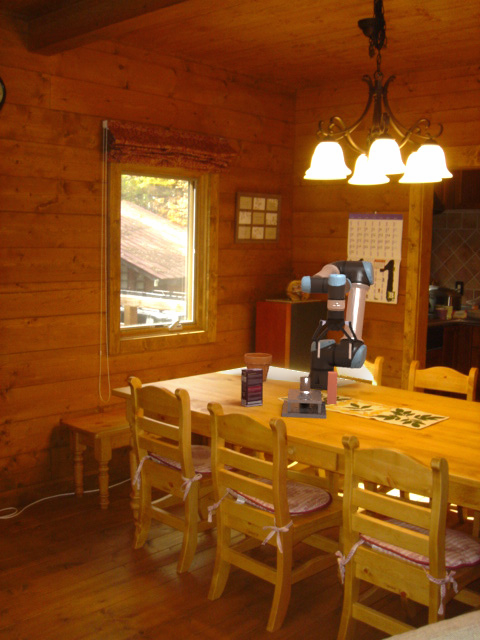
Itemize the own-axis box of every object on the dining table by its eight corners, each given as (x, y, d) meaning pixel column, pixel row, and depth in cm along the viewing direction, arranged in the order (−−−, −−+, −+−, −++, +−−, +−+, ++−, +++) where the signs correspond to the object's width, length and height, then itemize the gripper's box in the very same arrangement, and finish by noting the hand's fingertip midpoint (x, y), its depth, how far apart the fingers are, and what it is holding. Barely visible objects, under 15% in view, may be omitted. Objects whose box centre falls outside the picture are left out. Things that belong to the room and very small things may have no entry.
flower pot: (245, 376, 380) (246, 352, 379) (272, 378, 378) (273, 353, 377) (241, 382, 366) (242, 356, 365) (270, 383, 364) (270, 357, 363)
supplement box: (256, 403, 320) (257, 367, 319) (262, 405, 316) (263, 369, 314) (240, 405, 316) (240, 369, 314) (245, 407, 312) (246, 370, 310)
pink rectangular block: (327, 404, 321) (328, 373, 319) (326, 402, 325) (328, 371, 323) (336, 404, 320) (337, 373, 319) (336, 402, 324) (337, 371, 323)
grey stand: (281, 416, 297) (282, 385, 296) (283, 403, 321) (284, 374, 319) (326, 418, 296) (327, 387, 294) (325, 405, 319) (326, 376, 318)
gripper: (307, 309, 315) (305, 358, 318) (365, 311, 313) (363, 360, 316) (307, 307, 323) (305, 355, 325) (364, 309, 321) (362, 357, 323)
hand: (334, 357), depth 320 cm, fingers open, 13 cm apart
